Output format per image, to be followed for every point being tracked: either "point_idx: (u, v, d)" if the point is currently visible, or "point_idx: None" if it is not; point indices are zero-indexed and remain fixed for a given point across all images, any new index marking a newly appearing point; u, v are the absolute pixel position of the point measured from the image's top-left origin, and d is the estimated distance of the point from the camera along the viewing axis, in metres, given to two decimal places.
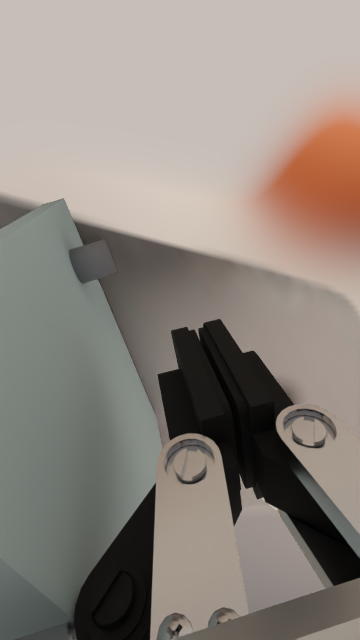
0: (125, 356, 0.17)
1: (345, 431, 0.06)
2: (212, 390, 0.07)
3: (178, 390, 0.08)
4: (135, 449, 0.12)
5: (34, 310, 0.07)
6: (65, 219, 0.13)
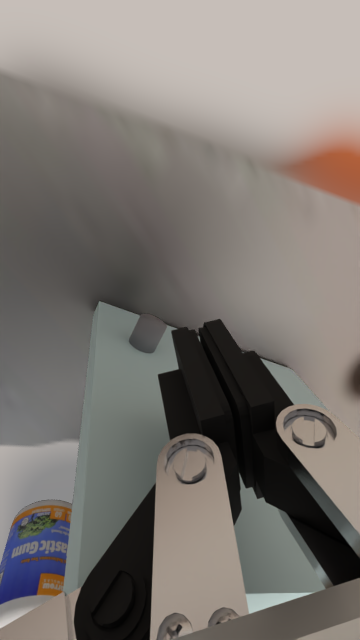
0: None
1: (345, 431, 0.06)
2: (212, 390, 0.07)
3: (178, 390, 0.08)
4: None
5: (135, 430, 0.10)
6: (111, 317, 0.16)
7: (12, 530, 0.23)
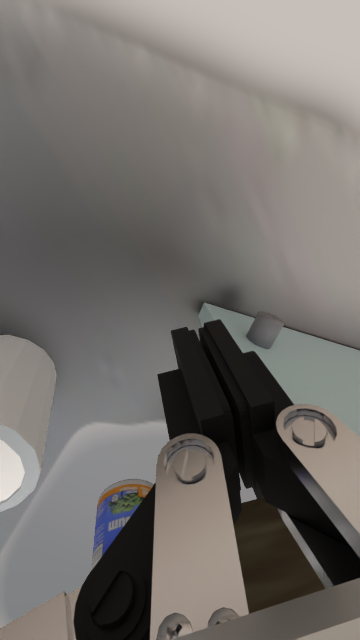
0: (324, 347, 0.19)
1: (345, 431, 0.06)
2: (212, 390, 0.07)
3: (178, 390, 0.08)
4: None
5: None
6: (221, 317, 0.17)
7: (102, 506, 0.24)
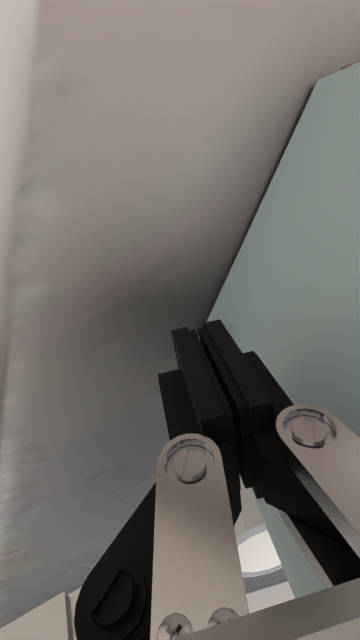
0: (263, 228, 0.15)
1: (345, 431, 0.06)
2: (212, 390, 0.07)
3: (178, 390, 0.08)
4: (348, 249, 0.10)
5: None
6: None
7: None
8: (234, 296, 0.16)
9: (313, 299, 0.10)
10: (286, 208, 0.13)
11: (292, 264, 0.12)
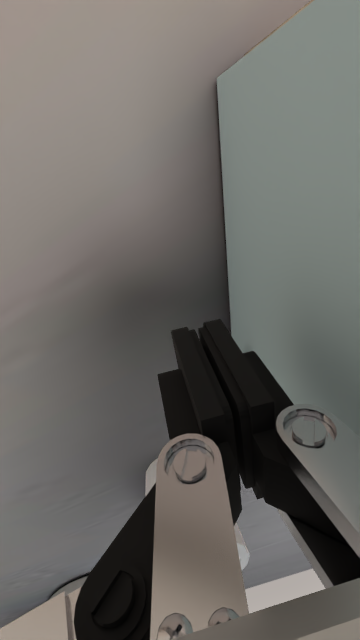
0: (235, 246, 0.14)
1: (345, 431, 0.06)
2: (212, 390, 0.07)
3: (178, 390, 0.08)
4: (300, 282, 0.09)
5: None
6: None
7: None
8: (240, 315, 0.16)
9: (293, 331, 0.10)
10: (243, 227, 0.13)
11: (267, 290, 0.12)
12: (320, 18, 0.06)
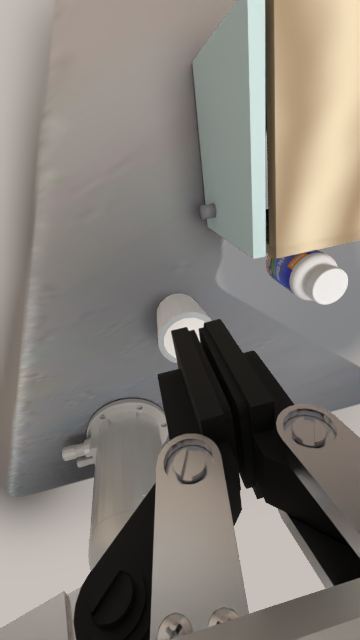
0: (203, 144, 0.30)
1: (345, 431, 0.06)
2: (212, 390, 0.07)
3: (178, 390, 0.08)
4: (221, 133, 0.24)
5: (233, 228, 0.26)
6: (210, 223, 0.33)
7: None
8: (207, 184, 0.31)
9: (222, 159, 0.25)
10: (205, 129, 0.28)
11: (214, 151, 0.27)
12: (215, 36, 0.21)
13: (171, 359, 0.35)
